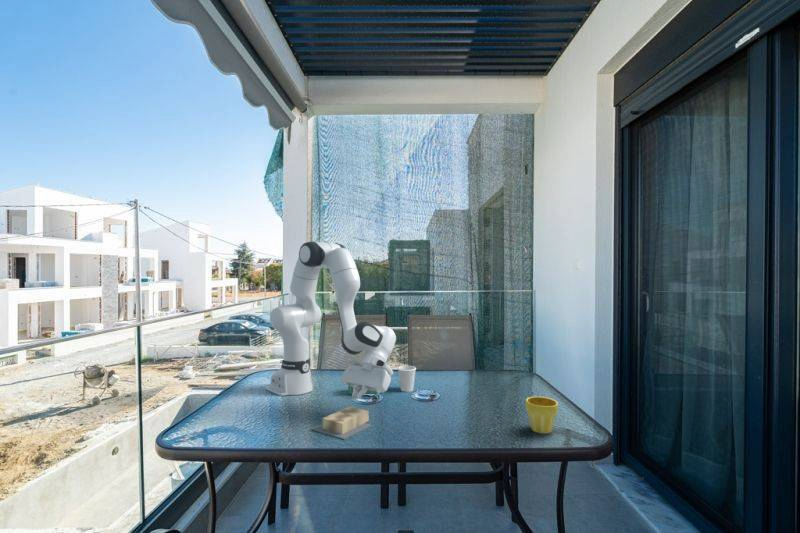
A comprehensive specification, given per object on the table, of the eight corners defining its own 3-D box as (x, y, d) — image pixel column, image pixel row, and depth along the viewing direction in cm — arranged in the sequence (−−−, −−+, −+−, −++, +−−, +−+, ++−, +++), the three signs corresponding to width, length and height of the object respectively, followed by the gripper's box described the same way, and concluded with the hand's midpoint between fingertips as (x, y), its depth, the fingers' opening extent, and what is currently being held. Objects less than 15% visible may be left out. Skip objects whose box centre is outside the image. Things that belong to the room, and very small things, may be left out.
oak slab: (349, 415, 152) (322, 428, 141) (349, 406, 152) (322, 418, 141) (368, 420, 147) (342, 434, 136) (368, 411, 147) (342, 423, 136)
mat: (311, 429, 140) (311, 428, 140) (339, 417, 152) (339, 416, 152) (344, 439, 132) (344, 438, 132) (371, 425, 144) (371, 424, 144)
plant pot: (561, 437, 133) (560, 407, 133) (527, 435, 135) (527, 405, 135) (554, 425, 144) (554, 397, 144) (524, 423, 145) (523, 395, 145)
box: (377, 397, 175) (377, 379, 176) (347, 394, 179) (347, 377, 179) (382, 392, 183) (382, 375, 183) (354, 390, 186) (353, 373, 186)
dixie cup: (416, 392, 181) (416, 370, 181) (397, 392, 181) (397, 370, 181) (416, 387, 190) (415, 365, 190) (397, 387, 190) (397, 365, 190)
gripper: (347, 357, 160) (330, 388, 152) (390, 363, 149) (373, 398, 141) (355, 366, 164) (338, 397, 156) (397, 373, 152) (381, 407, 144)
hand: (355, 397), depth 148 cm, fingers closed
